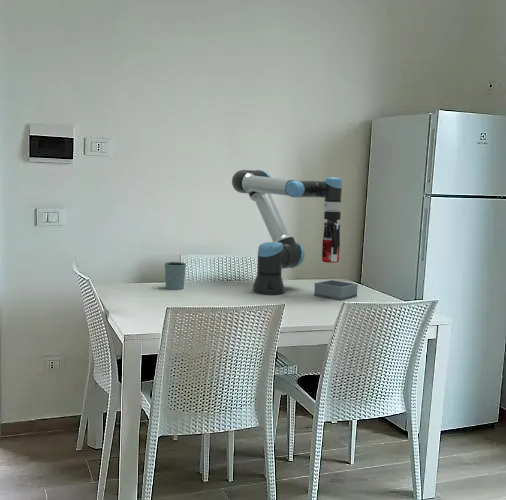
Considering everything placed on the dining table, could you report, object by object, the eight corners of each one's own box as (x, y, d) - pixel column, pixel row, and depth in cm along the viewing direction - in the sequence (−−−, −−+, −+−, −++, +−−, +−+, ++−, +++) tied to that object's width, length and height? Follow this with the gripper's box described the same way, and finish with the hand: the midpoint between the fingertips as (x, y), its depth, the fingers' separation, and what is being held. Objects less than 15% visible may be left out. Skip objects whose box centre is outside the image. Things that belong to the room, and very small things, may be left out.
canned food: (342, 261, 322) (343, 238, 321) (332, 263, 316) (333, 239, 315) (328, 260, 327) (329, 237, 326) (318, 261, 321) (319, 237, 320)
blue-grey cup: (182, 286, 336) (183, 261, 334) (187, 290, 326) (188, 265, 325) (162, 286, 332) (162, 261, 331) (166, 290, 323) (166, 265, 321)
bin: (314, 295, 327) (314, 283, 326) (330, 291, 338) (331, 279, 337) (340, 300, 318) (341, 287, 317) (356, 296, 329) (357, 284, 328)
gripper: (316, 209, 328) (315, 257, 330) (333, 212, 308) (331, 263, 311) (331, 209, 330) (329, 257, 332) (348, 212, 310) (346, 263, 313)
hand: (330, 260), depth 321 cm, fingers closed on canned food, 8 cm apart
